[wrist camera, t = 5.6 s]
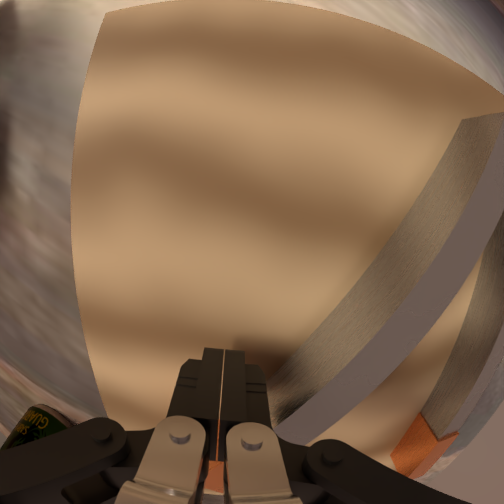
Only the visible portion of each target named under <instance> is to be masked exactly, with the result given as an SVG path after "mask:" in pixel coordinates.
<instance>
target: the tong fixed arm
mask: <svg viewBox="0 0 504 504" xmlns="http://www.w3.org/2000/svg"><path fill="white" fill-rule="evenodd" d="M503 355H504V210H503V212H502V215H501V217H500V219H499V221H498V223H497V225H496V227H495V229H494V231H493V233H492V235H491V237H490V239H489V241H488V243H487V245H486V247H485V249H484V252H483V257H482V261H481V265H480V269H479V273H478V277H477V281H476V284H475V288H474V291H473V295H472V298H471V301H470V304H469V307H468V310H467V313H466V316H465V319H464V322H463V324H462V327H461V330H460V332H459V335H458V337H457V340H456V342H455V345H454V347H453V349H452V352H451V354H450V356H449V358H448V360H447V363H446V365H445V367H444V369H443V371H442V373H441V375H440V377H439V379H438V381H437V383H436V385H435V387H434V389H433V390H432V392H431V394H430V396H429V398H428V399H427V401H426V403H425V405H424V406H423V408H422V410H421V411H420V412H419V413H418V415H417V416H416V418H415V419H414V421H413V423H412V424H411V426H410V427H409V429H408V430H407V432H406V433H405V435H404V436H403V437H402V439H401V440H400V442H399V443H398V445H397V446H396V447H395V449H394V450H393V451H392V453H391V454H390V457H391V459H392V461H393V463H394V465H395V468H396V470H397V472H398V473H400V474H402V475H404V476H406V477H408V478H410V479H415V478H417V477H420V476H422V475H424V474H425V473H426V472H427V471H428V470H429V469H430V468H431V467H432V466H433V465H434V463H435V462H436V461H437V460H438V459H439V458H440V457H441V456H442V454H443V453H444V452H445V451H446V450H447V448H448V447H449V446H450V445H451V444H452V442H453V441H454V440H455V439H456V437H457V436H458V435H459V433H458V430H459V429H460V427H461V426H462V425H463V423H464V422H465V420H466V419H467V418H468V416H469V415H470V413H471V412H472V410H473V409H474V407H475V406H476V404H477V402H478V401H479V399H480V398H481V396H482V394H483V393H484V391H485V389H486V388H487V386H488V384H489V382H490V381H491V379H492V377H493V375H494V373H495V371H496V369H497V367H498V365H499V363H500V361H501V359H502V357H503Z"/></svg>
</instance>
